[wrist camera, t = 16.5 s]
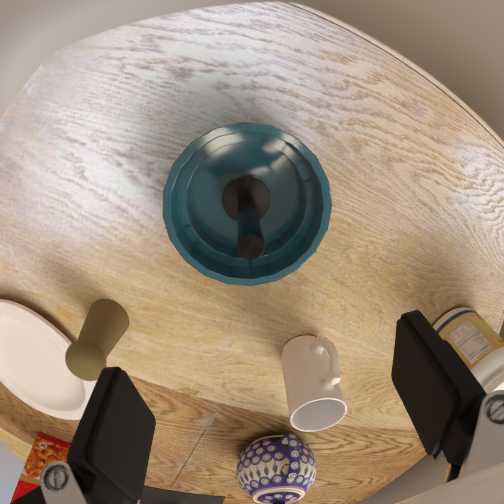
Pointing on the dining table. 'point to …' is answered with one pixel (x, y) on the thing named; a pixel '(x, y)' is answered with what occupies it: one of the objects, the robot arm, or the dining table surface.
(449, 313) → the supplement tub
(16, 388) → the plate
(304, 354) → the mug
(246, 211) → the black post stand
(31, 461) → the pasta box
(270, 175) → the bowl
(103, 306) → the olive pawn
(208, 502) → the architectural model
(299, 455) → the teapot
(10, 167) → the dining table surface
